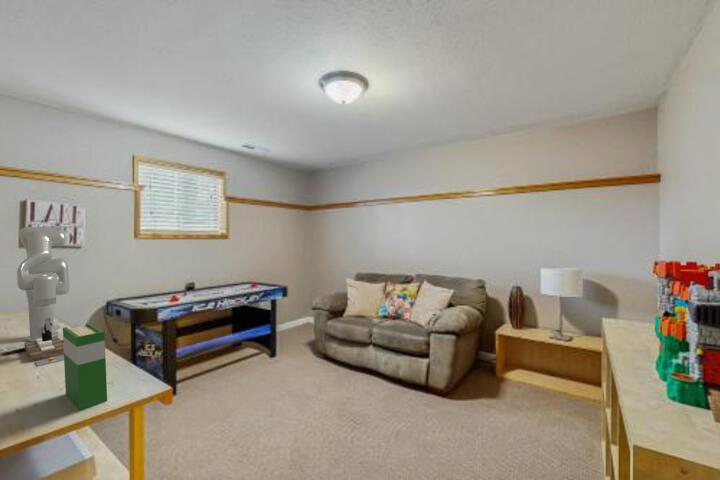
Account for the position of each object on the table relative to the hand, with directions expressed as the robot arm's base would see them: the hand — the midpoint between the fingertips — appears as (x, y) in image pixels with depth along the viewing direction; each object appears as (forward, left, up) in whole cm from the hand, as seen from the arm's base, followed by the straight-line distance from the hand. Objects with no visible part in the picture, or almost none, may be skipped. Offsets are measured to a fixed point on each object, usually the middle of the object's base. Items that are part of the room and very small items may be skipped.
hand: (47, 340), depth 155 cm
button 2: (+1, +1, -5) cm, 6 cm away
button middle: (-4, -4, -4) cm, 8 cm away
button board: (-4, -4, -7) cm, 9 cm away
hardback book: (+45, +48, -7) cm, 66 cm away
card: (+8, +8, -7) cm, 14 cm away
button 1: (-9, -9, -4) cm, 14 cm away
